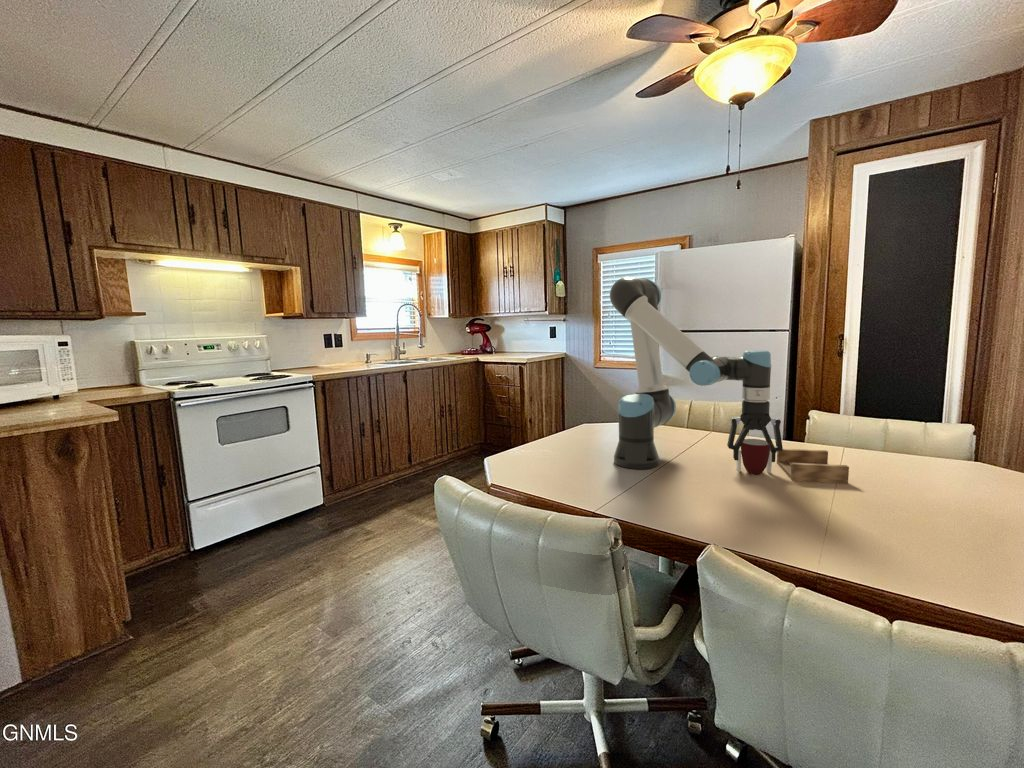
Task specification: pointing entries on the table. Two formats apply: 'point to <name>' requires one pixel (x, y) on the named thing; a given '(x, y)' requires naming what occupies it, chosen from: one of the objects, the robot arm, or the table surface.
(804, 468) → the rack
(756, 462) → the mug
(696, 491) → the table surface
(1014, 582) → the table surface
